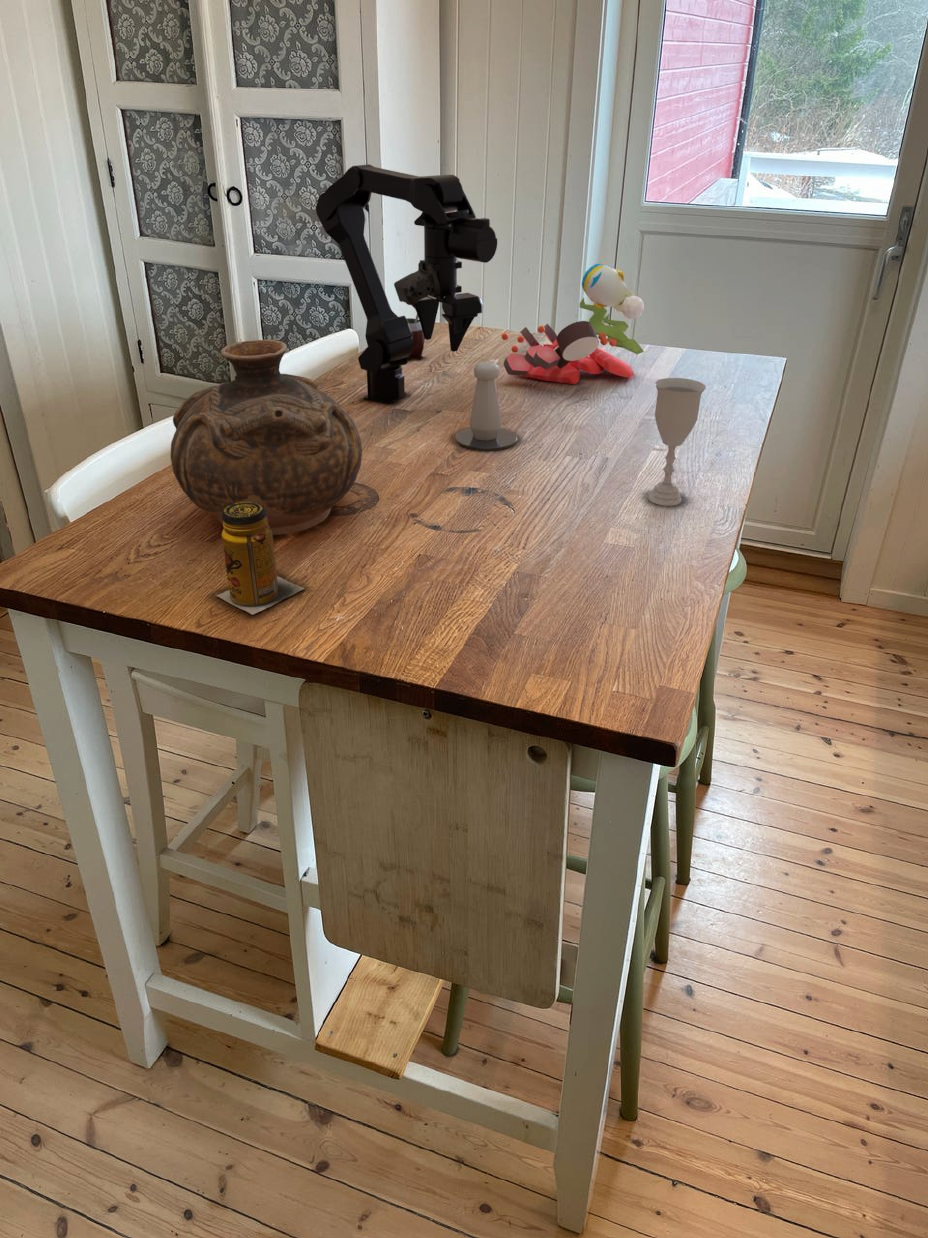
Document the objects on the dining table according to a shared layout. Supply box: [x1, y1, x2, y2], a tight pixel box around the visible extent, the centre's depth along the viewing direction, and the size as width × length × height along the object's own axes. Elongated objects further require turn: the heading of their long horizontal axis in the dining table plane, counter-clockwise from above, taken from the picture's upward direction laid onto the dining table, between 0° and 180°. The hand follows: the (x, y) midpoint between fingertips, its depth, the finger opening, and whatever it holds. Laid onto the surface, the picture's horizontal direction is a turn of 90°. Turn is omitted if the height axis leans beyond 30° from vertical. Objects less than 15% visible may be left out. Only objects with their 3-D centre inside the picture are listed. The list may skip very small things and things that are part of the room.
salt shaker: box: [468, 361, 503, 441], centre depth 163 cm, size 6×6×13 cm
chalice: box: [648, 377, 707, 507], centre depth 141 cm, size 7×7×18 cm
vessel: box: [170, 339, 363, 536], centre depth 133 cm, size 27×28×25 cm
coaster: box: [454, 427, 518, 452], centre depth 167 cm, size 11×11×1 cm
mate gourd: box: [406, 314, 426, 360], centre depth 207 cm, size 8×8×15 cm
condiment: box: [215, 502, 306, 616], centre depth 116 cm, size 7×8×12 cm
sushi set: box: [501, 263, 645, 385], centre depth 195 cm, size 29×30×24 cm
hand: (440, 345), depth 171 cm, fingers open, 9 cm apart
